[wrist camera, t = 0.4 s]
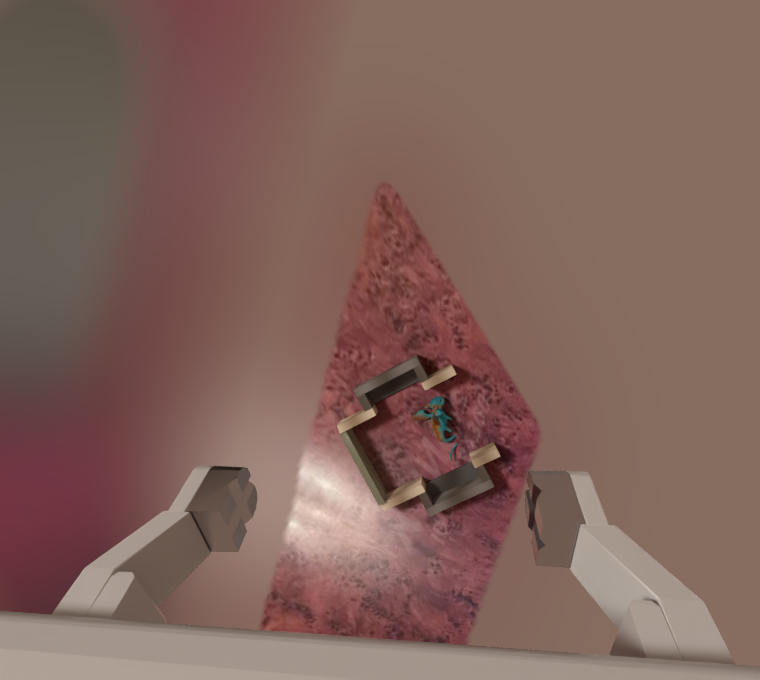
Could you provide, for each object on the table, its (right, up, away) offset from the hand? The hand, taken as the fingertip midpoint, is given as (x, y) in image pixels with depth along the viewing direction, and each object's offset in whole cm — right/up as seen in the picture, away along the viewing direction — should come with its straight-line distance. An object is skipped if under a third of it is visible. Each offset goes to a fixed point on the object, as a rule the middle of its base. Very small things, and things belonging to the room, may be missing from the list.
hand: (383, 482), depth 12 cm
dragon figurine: (+9, -8, +53) cm, 54 cm away
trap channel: (+5, -10, +52) cm, 54 cm away
